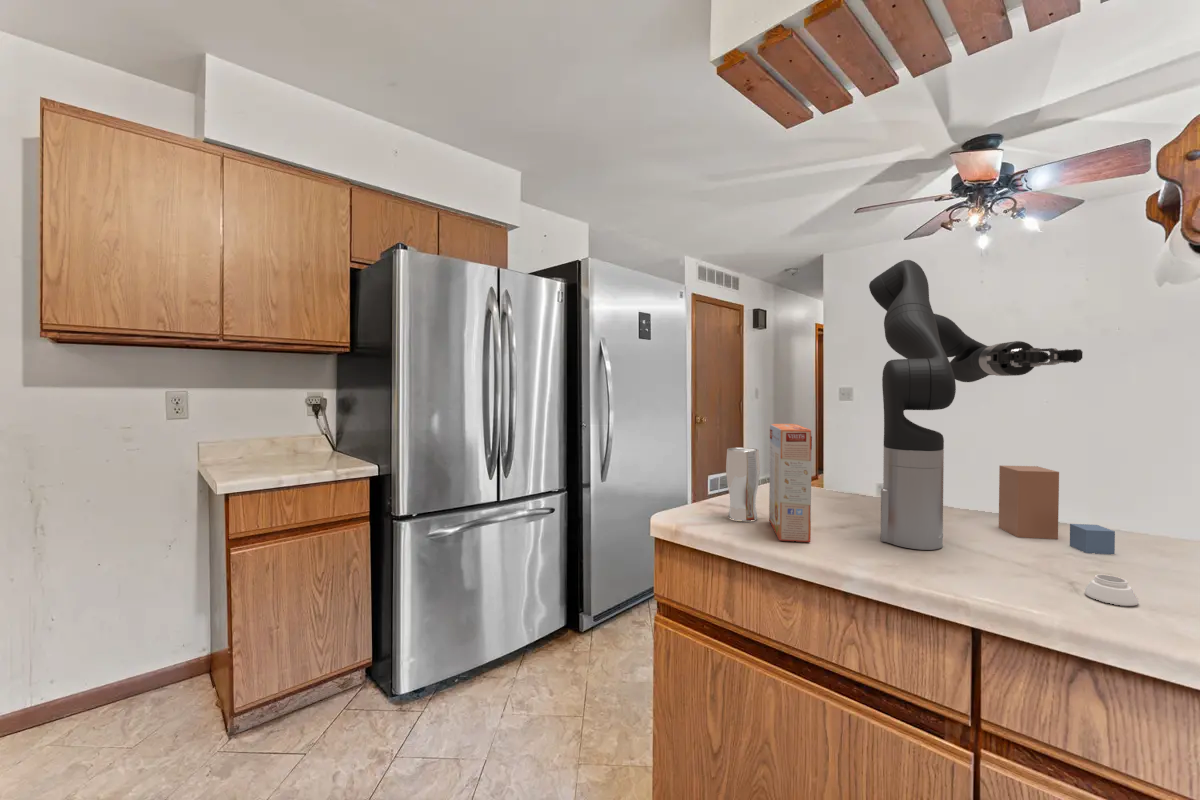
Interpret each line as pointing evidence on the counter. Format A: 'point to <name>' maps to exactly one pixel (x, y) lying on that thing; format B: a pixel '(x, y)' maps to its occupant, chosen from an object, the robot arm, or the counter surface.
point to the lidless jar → (1111, 590)
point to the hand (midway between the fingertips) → (1053, 355)
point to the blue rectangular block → (1092, 539)
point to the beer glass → (742, 482)
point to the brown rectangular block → (1029, 501)
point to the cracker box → (790, 482)
